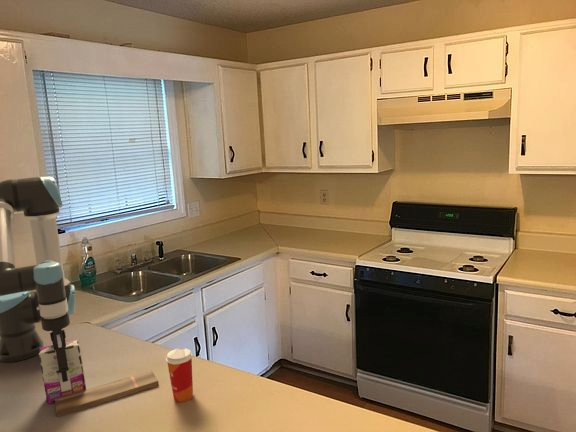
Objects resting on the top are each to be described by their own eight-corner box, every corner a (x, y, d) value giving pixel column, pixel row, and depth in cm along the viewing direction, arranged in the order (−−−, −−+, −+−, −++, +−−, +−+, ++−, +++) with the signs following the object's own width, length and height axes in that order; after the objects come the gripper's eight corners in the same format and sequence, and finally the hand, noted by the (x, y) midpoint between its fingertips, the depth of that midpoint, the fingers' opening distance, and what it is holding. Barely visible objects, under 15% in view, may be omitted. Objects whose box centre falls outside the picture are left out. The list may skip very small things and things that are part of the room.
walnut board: (55, 403, 141) (54, 398, 141) (152, 374, 155) (151, 370, 154) (57, 416, 134) (56, 411, 134) (158, 385, 148) (158, 380, 148)
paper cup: (174, 390, 145) (169, 347, 142) (198, 389, 144) (194, 346, 142) (166, 404, 137) (161, 360, 134) (193, 404, 137) (188, 359, 134)
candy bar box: (86, 386, 150) (79, 338, 147) (87, 394, 145) (79, 344, 142) (47, 396, 145) (39, 347, 142) (46, 404, 141) (38, 353, 137)
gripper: (39, 308, 146) (50, 376, 150) (41, 327, 131) (54, 403, 135) (65, 302, 150) (75, 369, 154) (71, 321, 134) (82, 395, 138)
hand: (65, 385), depth 144 cm, fingers closed on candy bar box, 5 cm apart
